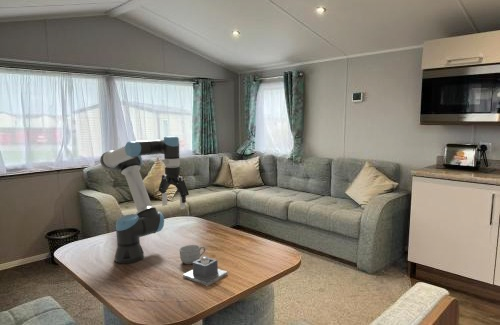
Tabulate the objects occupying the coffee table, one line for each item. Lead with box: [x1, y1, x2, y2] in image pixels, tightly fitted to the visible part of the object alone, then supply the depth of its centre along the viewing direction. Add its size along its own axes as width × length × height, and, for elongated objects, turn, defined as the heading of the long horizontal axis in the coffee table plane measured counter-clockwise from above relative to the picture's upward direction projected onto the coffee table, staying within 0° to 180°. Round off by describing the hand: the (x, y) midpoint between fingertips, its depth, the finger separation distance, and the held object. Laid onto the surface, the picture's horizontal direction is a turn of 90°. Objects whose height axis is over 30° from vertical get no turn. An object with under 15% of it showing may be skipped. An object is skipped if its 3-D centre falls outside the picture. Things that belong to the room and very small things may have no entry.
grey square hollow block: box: [192, 257, 219, 279], centre depth 162 cm, size 8×8×6 cm
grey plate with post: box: [182, 255, 228, 287], centre depth 162 cm, size 16×14×10 cm
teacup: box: [179, 244, 207, 265], centre depth 179 cm, size 14×11×8 cm
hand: (173, 207), depth 175 cm, fingers open, 13 cm apart
